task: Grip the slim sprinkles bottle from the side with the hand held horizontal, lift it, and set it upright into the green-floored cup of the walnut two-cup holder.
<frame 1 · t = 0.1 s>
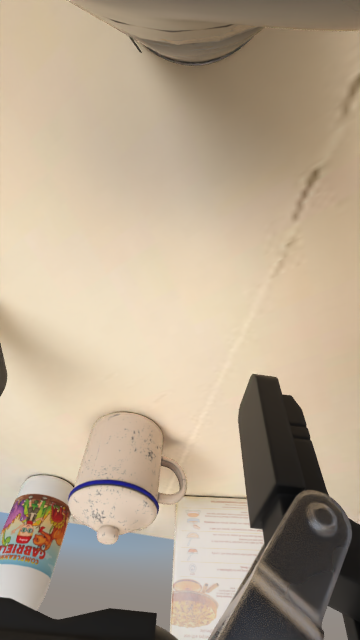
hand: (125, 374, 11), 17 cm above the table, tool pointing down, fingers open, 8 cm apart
teacup with lid: (140, 434, 41), on the table
coffeecake box: (226, 507, 51), on the table
milk bottle: (51, 486, 49), on the table
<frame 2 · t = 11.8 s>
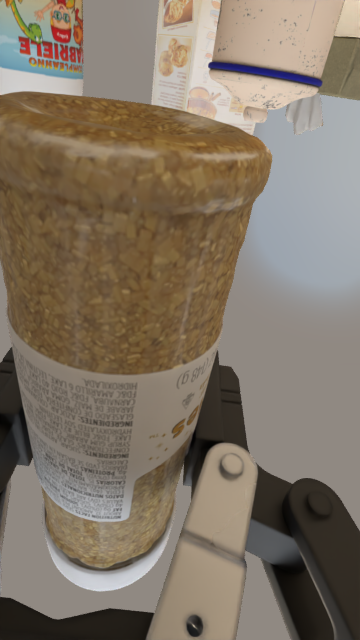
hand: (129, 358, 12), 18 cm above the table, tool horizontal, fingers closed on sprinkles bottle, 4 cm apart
tissue box: (323, 39, 64), on the table
sprinkles bottle: (129, 94, 5), point 10 cm above the table, touching gripper
when the fingers open (8 cm above the table, at t = 15.6 s): sprinkles bottle stays where it is, resting on holder.
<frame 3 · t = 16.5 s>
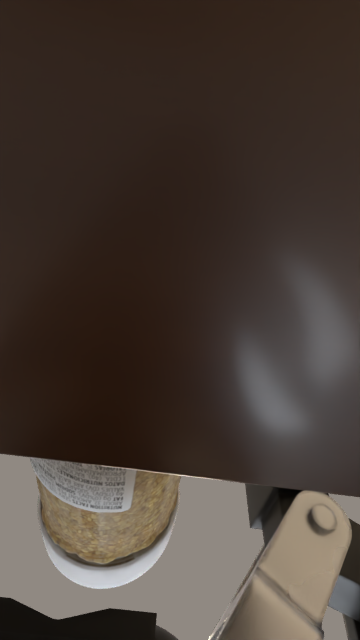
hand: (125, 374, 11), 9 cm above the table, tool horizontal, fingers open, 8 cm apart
sprinkles bottle: (131, 14, 4), point 1 cm above the table, touching holder
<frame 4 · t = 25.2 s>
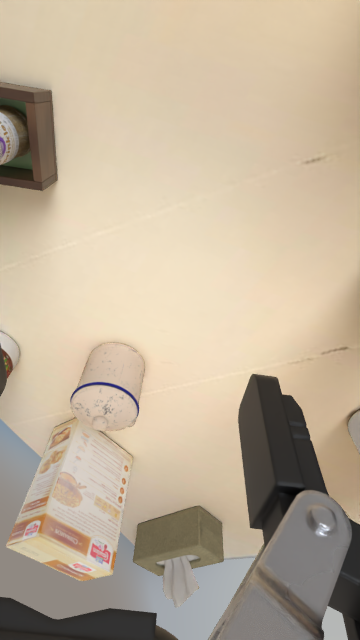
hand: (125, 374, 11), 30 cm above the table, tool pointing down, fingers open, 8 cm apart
teacup with lid: (121, 368, 53), on the table
coffeecake box: (95, 441, 64), on the table
tissue box: (179, 522, 82), on the table
sprinkles bottle: (12, 130, 34), point 1 cm above the table, touching holder
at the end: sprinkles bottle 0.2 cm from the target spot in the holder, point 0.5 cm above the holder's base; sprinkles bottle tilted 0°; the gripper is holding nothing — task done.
